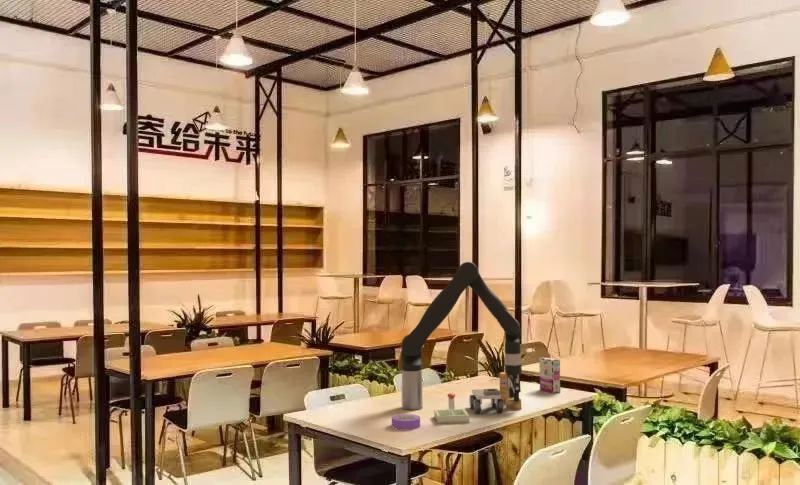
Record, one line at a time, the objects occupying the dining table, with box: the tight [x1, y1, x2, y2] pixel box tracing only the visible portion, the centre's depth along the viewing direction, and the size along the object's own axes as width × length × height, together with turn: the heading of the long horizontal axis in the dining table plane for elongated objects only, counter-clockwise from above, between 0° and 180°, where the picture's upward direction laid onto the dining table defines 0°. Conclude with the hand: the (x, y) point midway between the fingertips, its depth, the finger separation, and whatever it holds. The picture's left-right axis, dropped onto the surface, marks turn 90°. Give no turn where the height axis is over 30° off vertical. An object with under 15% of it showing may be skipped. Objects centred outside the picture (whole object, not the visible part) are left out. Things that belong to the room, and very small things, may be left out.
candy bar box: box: [538, 357, 561, 394], centre depth 343 cm, size 11×5×16 cm, turn 25°
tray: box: [433, 408, 470, 425], centre depth 285 cm, size 13×12×3 cm
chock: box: [505, 397, 522, 411], centre depth 304 cm, size 6×4×4 cm, turn 95°
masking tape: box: [391, 413, 421, 430], centre depth 275 cm, size 12×12×4 cm
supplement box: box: [499, 371, 520, 402], centre depth 321 cm, size 8×5×13 cm, turn 62°
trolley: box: [468, 388, 504, 415], centre depth 301 cm, size 12×16×10 cm
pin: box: [447, 393, 456, 415], centre depth 285 cm, size 3×3×10 cm
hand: (514, 399), depth 305 cm, fingers open, 8 cm apart
